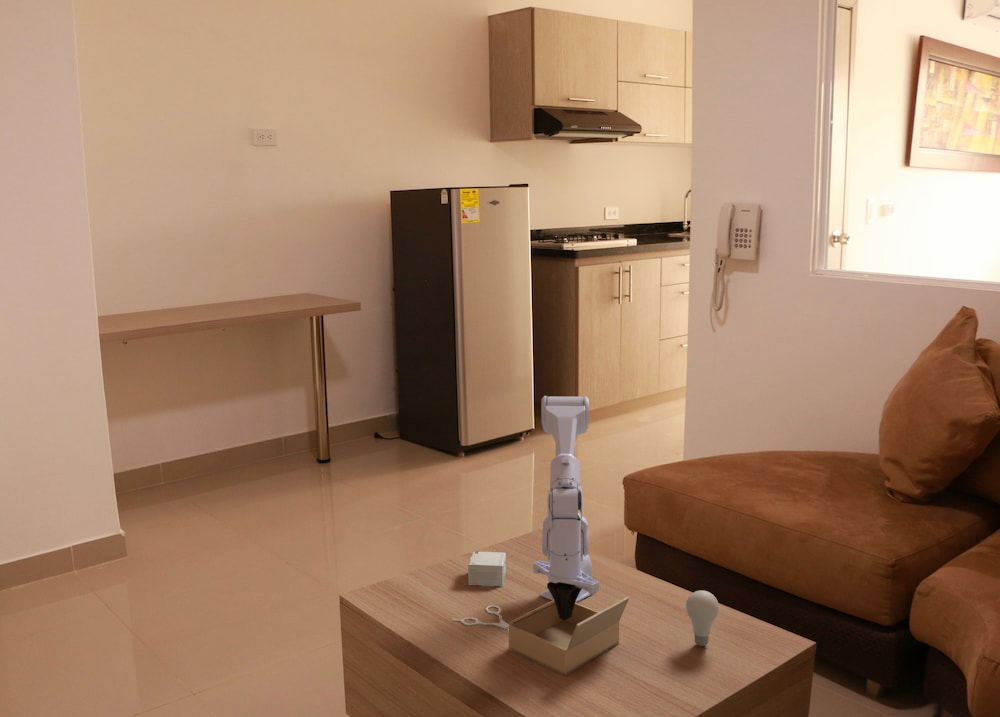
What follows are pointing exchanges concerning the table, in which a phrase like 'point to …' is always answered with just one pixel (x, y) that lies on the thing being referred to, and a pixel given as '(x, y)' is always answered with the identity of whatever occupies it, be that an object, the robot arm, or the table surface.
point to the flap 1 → (533, 611)
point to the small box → (487, 568)
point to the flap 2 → (597, 623)
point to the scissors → (501, 624)
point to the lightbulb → (702, 614)
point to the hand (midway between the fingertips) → (565, 617)
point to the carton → (559, 639)
